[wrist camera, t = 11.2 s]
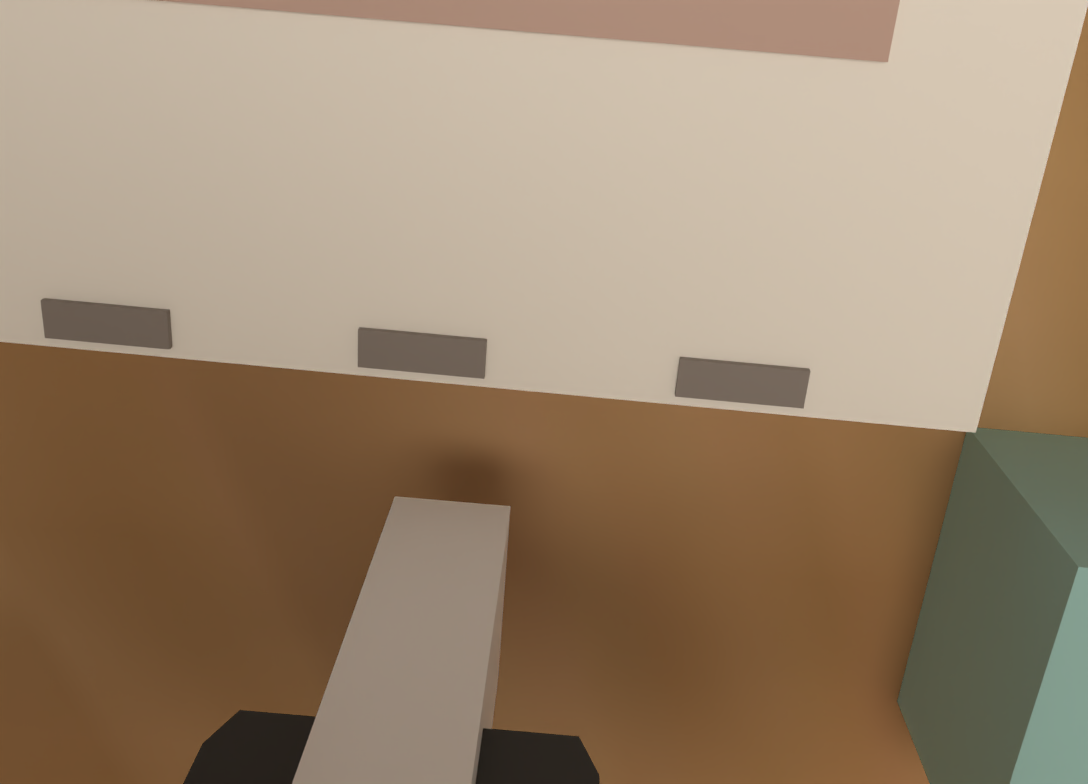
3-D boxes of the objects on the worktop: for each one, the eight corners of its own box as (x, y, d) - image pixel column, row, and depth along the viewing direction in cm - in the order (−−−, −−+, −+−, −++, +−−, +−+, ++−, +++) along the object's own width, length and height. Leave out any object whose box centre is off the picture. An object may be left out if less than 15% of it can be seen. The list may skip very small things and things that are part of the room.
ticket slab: (-559, 237, 15) (-727, 276, 13) (-784, -421, 12) (-1048, -495, 10) (930, 374, 15) (977, 435, 13) (1085, -279, 12) (1179, -328, 10)
